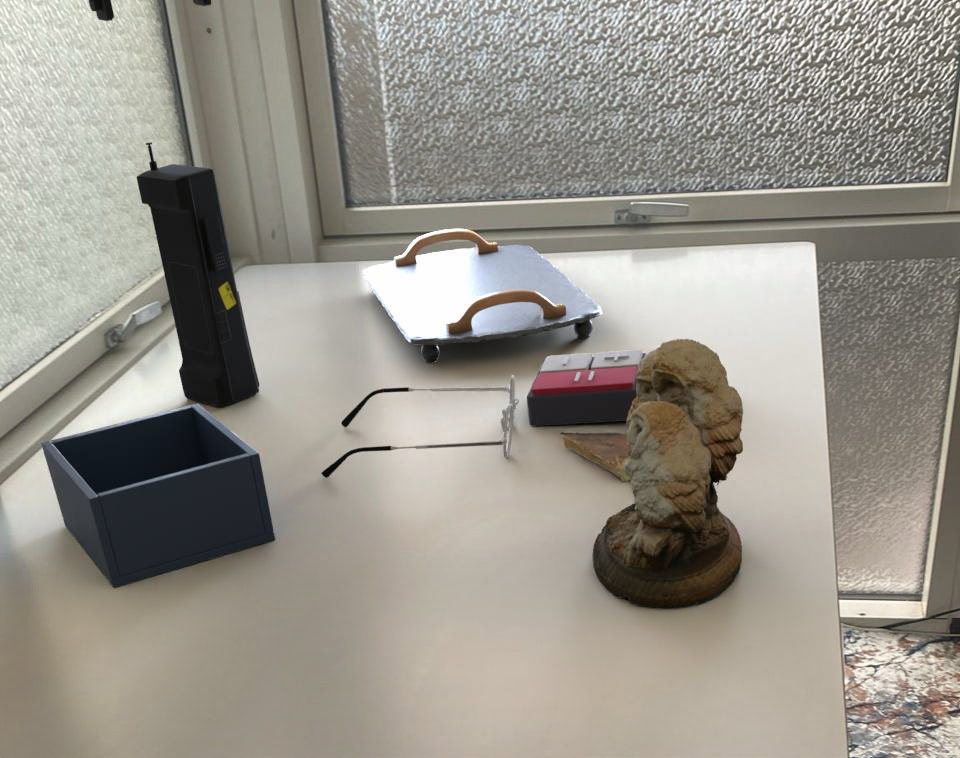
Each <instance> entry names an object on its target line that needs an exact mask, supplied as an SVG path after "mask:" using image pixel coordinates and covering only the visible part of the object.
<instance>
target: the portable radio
mask: <svg viewBox="0 0 960 758" xmlns="http://www.w3.org/2000/svg"><path fill="white" fill-rule="evenodd" d="M145 145H146V146H147V150H148V154H149V158H150V161H149V162H148V163H149V168H150V169H149V170H145V171H143V172H141V173H140V174H138V175H137V176H136V181H137V186H138V192H139V196H140V200H141V204H144V205H147V206H148V207H149V209H150V213H151V218H152V223H153V227H154V232H155V236H156V242H157V246H158V251H159V255H160V260H161V264H162V269H163V274H164V279H165V283H166V287H167V293H168V297H169V301H170V302H169V303H170V305H171V312H172V317H173V320H174V325H175V326H174V327H175V330H176V335H177V339H178V345H179V350H180V354H181V359H182V361H181V365H180V367H179V369H178V373H179V378H180V382H181V387H182V392H183V396H184V397H185V399H187V400H191V401H195V402H198V403H202V404H205V405H209V406H212V407H215V408H220V407H221V408H222V407H226V406H228V405H232V404H234V403H237V402H240V401H242V400H243V399H247V398H249V397H252V396H254V395H256V393H257V394H258V393H259V392H260V381H259V377H258V373H257V369H256V365H255V361H254V357H253V352H252V348H251V344H250V339H249V334H248V330H247V326H246V321H245V315H244V311H243V306H242V301H241V296H240V292H239V291H238V287H237V283H236V278H235V272H234V268H233V263H232V257H231V252H230V247H229V242H228V236H227V231H226V227H225V221H224V216H223V211H222V205H221V201H220V194H219V189H218V185H217V179H216V175H215V172H214V169H212V168H210V167H209V168H208V167H202V166H201V167H200V166H193V165H192V166H191V165H185V164H175V163H172V164H168V165H164V166H160V167H158V163H157V160H155V158H154V153H153V149H152V145H153V142H150V141H149V142H145ZM251 395H252V396H251Z"/></svg>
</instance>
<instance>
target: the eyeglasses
mask: <svg viewBox="0 0 960 758" xmlns="http://www.w3.org/2000/svg"><path fill="white" fill-rule="evenodd" d="M515 380H516V379H515V375H514V374H513V375H512V374H511V375H510V384H509V386H470V387H469V386H467V387H465V386H464V387H431V388H413V387H407V386H406V387H405V386H404V387H388V388H387V387H386V388H380V389H376V390H373V391H371V392H369V394H367V395H366V396H365V397H364V398H363V399H362V400H361V401H360V402H359V403H358V404H357V405H356V406H355V407H354V408H353V409H351V411H350V412H349V413H348V414H347V415H346V416H345V417H344V418H343V419H342V421H341V423H340V424H341V426H342V427H344V428H348V426H349V425H350V424H351V423H352V422H353V420H354V419H355V418H356V416H358V414H359V413H360V411H361V410H362V409H363V407H364V406H365V405H366V404H367V402H368V401H369V400H370V399H371V398H372V397H374V396H376V395H378V394H386V393H387V394H388V393H410V392H415V391H430V392H507V393H509V402H508V404H507V407H506V408H505V409H502V410H501V414H502V417H501V419H500V426H501V431H502V432H503V437H502V438H500V439H498V440H487V441H486V440H485V441H471V442H468V441H467V442H452V443H450V442H449V443H437V444H435V443H434V444H419V445H418V444H417V445H415V446H394V445H381V446H380V445H379V446H363V447H357V448H354V449H350V450H349V451H346V453H344V454H343V455H341V456H340V457H339V458H338V459H337V460H336V461H334V462H333V463H332V464H330V465H329V466H327V468H325V469H324V470H322V472H321V473H320V475H321V476H322V477H324V478H325V479H327V478H329V477H330V476H331V475H332V474H333V473H334V472H335V471H337V469H338V468H339V467H340V466H341V465H342V464H343V463H344V462H345V461H346V459H347V458H349V457H350V456H352V455H354V454H357V453H365V452H387V451H388V452H389V451H396V450H402V449H404V450H405V449H416V450H422V449H424V450H425V449H447V448H467V447H468V448H469V447H491V446H492V447H493V446H494V447H495V446H502V447H503V448H502V449H503V450H502V451H503V457H504V458H505V459H509V458H510V453H511V449H512V441H513V440H512V439H513V431H514V430H513V429H514V423H515V416H516V413H515V410H516V409H517V408H516V407H517V405H518V404H519V403H520V399H519V398H518V397H516V388H515V387H516V383H515V382H516V381H515ZM508 433H509V434H508Z"/></svg>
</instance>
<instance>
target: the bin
mask: <svg viewBox="0 0 960 758" xmlns="http://www.w3.org/2000/svg"><path fill="white" fill-rule="evenodd" d="M40 445H41V448H42V451H43V455H44V458H45V462H46V465H47V468H48V471H49V476H50V479H51V482H52V485H53V489H54V492H55V496H56V500H57V503H58V506H59V510H60V513H61V516H62V520H63V523H64V526H65V527H66V529H67V530H68V531H69V532H70V534H71V535H72V536H73V537H74V539H75V540H76V541H77V543H78V544H79V545H80V547H81V548H82V550H83V551H84V552H85V553H86V554H87V556H88V557H89V559H90V560H91V561H92V562H93V563H94V565H95V566H96V567H97V568H98V570H99V571H100V572H101V574H102V575H103V576H104V578H105V579H106V580H107V581H108V583H109V584H110V586H111V587H112V588H114V587H115V588H118V587H121V586H125V585H128V584H131V583H134V582H137V581H141V580H144V579H148V578H152V577H155V576H158V575H162V574H164V573H169V572H172V571H175V570H178V569H182V568H185V567H189V566H192V565H196V564H199V563H202V562H206V561H209V560H212V559H215V558H219V557H223V556H225V555H229V554H232V553H236V552H239V551H242V550H245V549H249V548H252V547H253V548H254V547H256V546H260V545H263V544H266V543H270V542H272V541H275V540H276V536H275V531H274V526H273V519H272V515H271V514H272V513H271V510H270V505H269V504H270V503H269V500H268V494H267V488H266V484H265V483H266V482H265V477H264V472H263V467H262V462H261V457H260V453H259V452H258V451H257V450H255V449H254V448H253V447H252V446H250V444H249V443H247V442H246V441H244V440H243V439H242V438H241V437H240V436H239V435H237V434H236V433H235V432H233V430H231V429H230V428H228V427H227V426H226V425H225V424H224V423H223V422H221V421H220V420H218V418H216V417H215V416H213V415H212V414H211V413H210V412H209V411H208V410H207V409H205V408H204V407H203V406H201V405H200V404H199V403H194V404H190V405H186V406H181V407H177V408H174V409H170V410H165V411H161V412H157V413H153V414H150V415H145V416H142V417H137V418H133V419H129V420H126V421H121V422H118V423H113V424H110V425H106V426H103V427H102V426H101V427H98V428H94V429H91V430H87V431H83V432H79V433H74V434H71V435H67V436H62V437H59V438H55V439H51V440H48V441H43V442H41V444H40Z"/></svg>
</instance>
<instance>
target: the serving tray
mask: <svg viewBox="0 0 960 758" xmlns="http://www.w3.org/2000/svg"><path fill="white" fill-rule="evenodd" d="M449 241H469V242H473V243H474V244H475V247H471V248H456V249H448V250H443V251H435V252H434V251H433V252H429V253H425V254H418V252H419V251H420V250H421V249H423V248H425V247H427V246H430V245H433V244H436V243H442V242H449ZM417 254H418V255H417ZM361 276H362V278H363V279H364V280H365V282H366V284H367V285H368V286H369V287H370V289H371V292H372V293H373V294H374V295H375V297H376V298H377V300H378V301H379V302H380V304H381V306H382V307H383V308H384V310H385V311H386V312H387V314H388V317H389V318H391V320H392V321H393V323H394V324H395V325H396V327H397V329H398V330H399V331H400V333H401V334H402V335H403V337H404V339H405V340H406V341H407V342H408V343H409V344H410V345H417V346H421V348H420V355H421V358H422V359H423V360H424V362H425V363H427V364H433V363H432V362H434V363H436V362H437V361H438V358H439V357H440V354H441V350H440V347H439V346H445V345H454V344H468V343H472V344H473V343H474V344H475V343H481V342H485V341H494V340H502V339H503V340H504V339H505V340H506V339H512V338H518V337H524V336H529V335H533V334H538V333H542V332H549V331H553V330H558V329H562V328H566V327H568V326H572V325H574V326H573V330H574V332H575V335H576V336H577V338H578V339H588V338H590V337H591V334H592V332H593V329H594V326H593V322H592V320H593V319H596V318H597V317H600V316H602V315H603V310H602V308H601V306H600V304H598V303H597V302H596V301H594V299H593V298H591V297H590V296H589V295H587V293H586V292H585V291H584V290H583V289H582V288H581V287H579V286H578V285H575V283H573V282H572V281H570V278H569V277H568V275H566V274H565V273H563V272H561V271H560V270H559V269H558V268H556V267H555V265H554V264H553V262H551V261H550V260H548V259H546V258H545V257H543V256H542V255H540V254H539V252H538V251H537V250H535V249H534V248H533V246H532V247H531V246H529V245H523V244H511V245H501V246H500V245H498V243H497V241H495V242H494V241H493V242H492V241H491V242H488V241H486V240H485V239H484V238H482V236H480V235H479V234H477V232H475V231H473V230H470V229H464V228H450V229H442V230H437V231H432V232H429V233H425V234H423V235H421V236H418V237H416V239H414V240H412V242H411V243H410V244H409V245H408V247H407V249H406V250H405V251H404V252H403V254H402V255H398V256H394V257H393V261H389V262H386V263H382V264H375V265H372V266H369V267H367V268H365V269H363V270H362V275H361ZM435 361H436V362H435Z"/></svg>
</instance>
